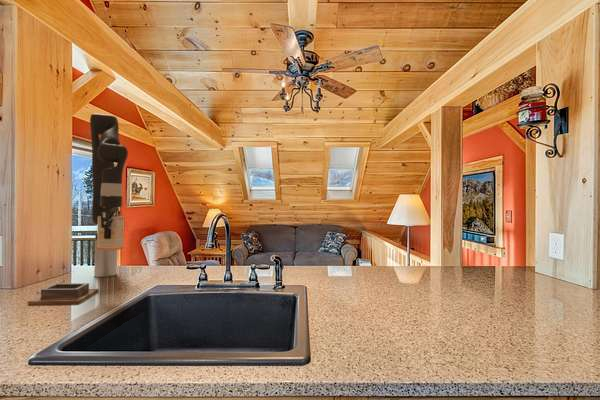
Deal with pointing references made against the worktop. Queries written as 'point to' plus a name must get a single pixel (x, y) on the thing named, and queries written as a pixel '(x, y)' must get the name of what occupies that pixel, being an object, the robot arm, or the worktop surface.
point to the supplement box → (116, 234)
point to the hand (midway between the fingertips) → (110, 237)
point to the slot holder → (64, 294)
